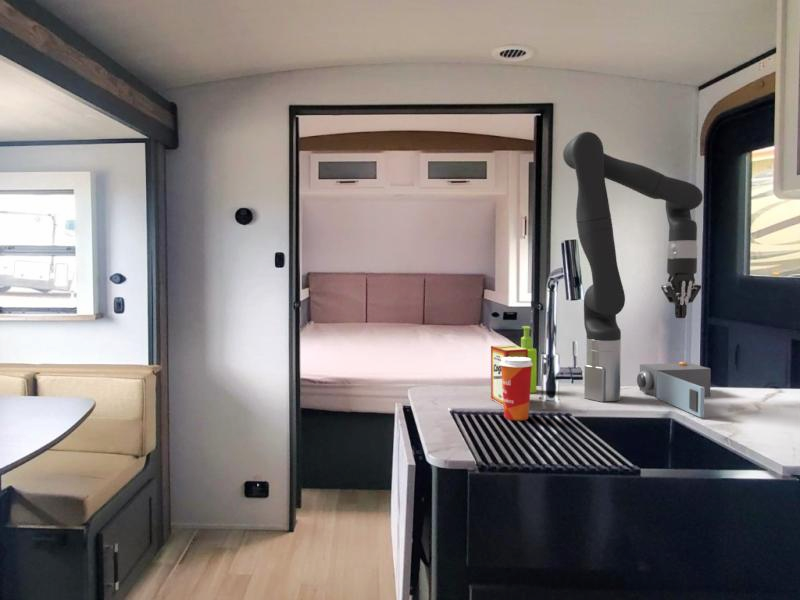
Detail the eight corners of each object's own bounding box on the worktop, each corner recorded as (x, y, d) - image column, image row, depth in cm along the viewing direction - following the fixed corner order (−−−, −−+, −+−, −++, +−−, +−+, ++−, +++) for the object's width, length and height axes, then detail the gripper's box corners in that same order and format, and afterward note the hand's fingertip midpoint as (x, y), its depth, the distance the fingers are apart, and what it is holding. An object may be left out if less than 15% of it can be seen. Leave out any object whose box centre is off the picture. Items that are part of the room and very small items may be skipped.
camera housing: (710, 395, 159) (710, 365, 158) (649, 398, 157) (649, 367, 157) (689, 388, 169) (689, 360, 168) (631, 390, 167) (632, 362, 167)
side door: (698, 417, 135) (699, 387, 134) (653, 396, 157) (653, 371, 157) (704, 417, 135) (705, 387, 134) (658, 396, 157) (658, 371, 157)
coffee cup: (499, 412, 143) (499, 355, 142) (531, 413, 142) (531, 356, 141) (499, 421, 135) (499, 361, 134) (534, 422, 134) (534, 361, 133)
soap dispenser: (534, 388, 171) (534, 325, 170) (537, 393, 164) (537, 327, 163) (515, 388, 172) (515, 325, 171) (518, 393, 165) (517, 327, 164)
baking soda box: (527, 405, 150) (527, 347, 149) (506, 407, 148) (506, 349, 148) (511, 398, 159) (511, 343, 158) (491, 399, 158) (490, 344, 157)
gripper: (688, 257, 160) (687, 316, 161) (653, 257, 156) (652, 317, 157) (711, 257, 153) (709, 318, 154) (675, 256, 149) (673, 319, 150)
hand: (680, 318), depth 156 cm, fingers closed
